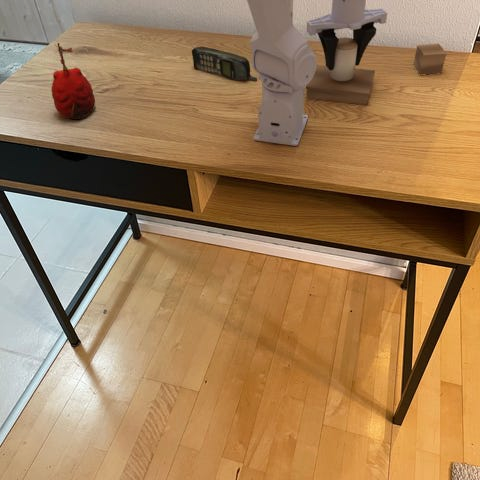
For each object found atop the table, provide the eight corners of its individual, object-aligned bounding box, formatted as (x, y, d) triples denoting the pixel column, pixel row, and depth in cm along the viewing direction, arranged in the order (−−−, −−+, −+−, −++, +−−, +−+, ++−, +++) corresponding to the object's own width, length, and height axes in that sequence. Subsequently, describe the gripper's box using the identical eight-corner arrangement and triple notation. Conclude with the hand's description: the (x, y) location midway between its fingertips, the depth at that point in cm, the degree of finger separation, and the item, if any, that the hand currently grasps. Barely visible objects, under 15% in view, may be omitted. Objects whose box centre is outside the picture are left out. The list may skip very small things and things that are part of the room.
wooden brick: (367, 105, 96) (369, 93, 94) (305, 98, 98) (305, 86, 97) (373, 82, 102) (375, 70, 100) (314, 76, 104) (314, 64, 103)
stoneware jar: (358, 77, 96) (362, 45, 92) (336, 83, 96) (340, 50, 91) (346, 67, 99) (350, 34, 95) (325, 72, 98) (328, 39, 94)
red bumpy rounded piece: (94, 99, 102) (73, 25, 91) (100, 116, 97) (79, 40, 87) (56, 108, 100) (30, 33, 90) (61, 126, 96) (34, 50, 85)
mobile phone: (189, 49, 106) (250, 62, 99) (197, 43, 107) (258, 56, 101) (192, 71, 109) (251, 85, 103) (200, 65, 111) (259, 79, 105)
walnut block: (441, 74, 103) (446, 53, 100) (419, 75, 103) (424, 55, 99) (433, 64, 106) (438, 43, 103) (413, 65, 106) (417, 45, 103)
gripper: (318, 5, 83) (313, 81, 92) (400, -8, 85) (387, 68, 95) (303, -10, 87) (300, 64, 97) (381, -22, 90) (370, 52, 99)
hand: (342, 65), depth 96 cm, fingers closed on stoneware jar, 5 cm apart
